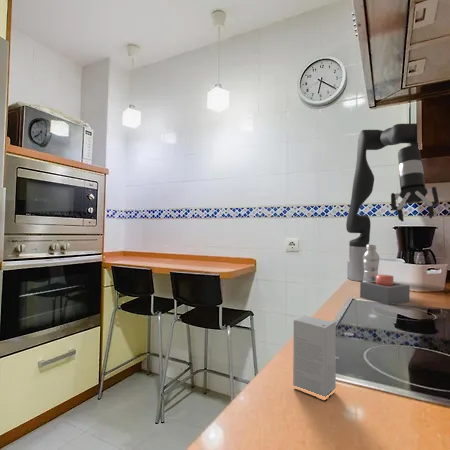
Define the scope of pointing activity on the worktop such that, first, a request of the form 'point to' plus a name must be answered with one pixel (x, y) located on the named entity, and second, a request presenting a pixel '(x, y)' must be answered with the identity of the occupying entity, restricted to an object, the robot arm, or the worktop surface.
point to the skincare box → (314, 355)
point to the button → (384, 280)
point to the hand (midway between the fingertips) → (416, 219)
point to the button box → (385, 292)
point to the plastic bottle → (370, 263)
